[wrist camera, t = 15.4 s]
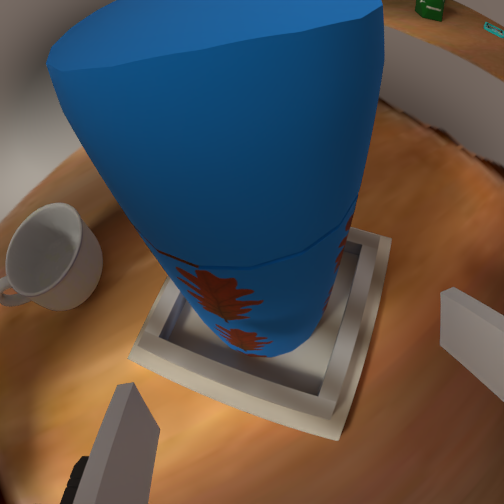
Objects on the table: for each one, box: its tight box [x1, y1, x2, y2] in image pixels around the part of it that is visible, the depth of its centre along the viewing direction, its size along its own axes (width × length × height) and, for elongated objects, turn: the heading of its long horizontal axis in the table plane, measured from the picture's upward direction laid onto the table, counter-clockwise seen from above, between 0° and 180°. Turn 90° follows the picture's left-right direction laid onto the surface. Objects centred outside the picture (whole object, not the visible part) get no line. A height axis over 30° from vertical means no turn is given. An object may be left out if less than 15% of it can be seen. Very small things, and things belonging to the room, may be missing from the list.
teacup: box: [0, 203, 103, 311], centre depth 31 cm, size 14×11×8 cm
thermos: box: [46, 0, 384, 358], centre depth 18 cm, size 11×11×25 cm
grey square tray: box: [127, 227, 392, 441], centre depth 29 cm, size 20×20×4 cm
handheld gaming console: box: [484, 22, 504, 38], centre depth 69 cm, size 8×1×15 cm
